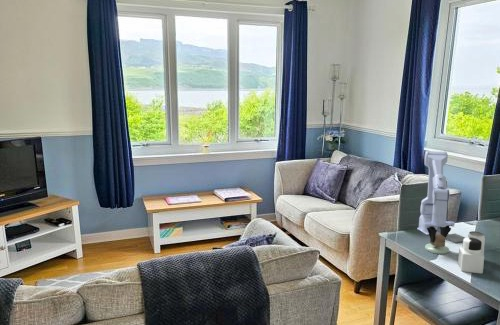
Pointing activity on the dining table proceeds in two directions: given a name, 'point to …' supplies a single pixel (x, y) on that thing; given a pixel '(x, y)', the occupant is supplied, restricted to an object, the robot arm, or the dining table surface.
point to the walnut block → (439, 241)
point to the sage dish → (436, 249)
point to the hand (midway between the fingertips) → (437, 241)
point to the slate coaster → (455, 238)
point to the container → (471, 256)
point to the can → (478, 236)
